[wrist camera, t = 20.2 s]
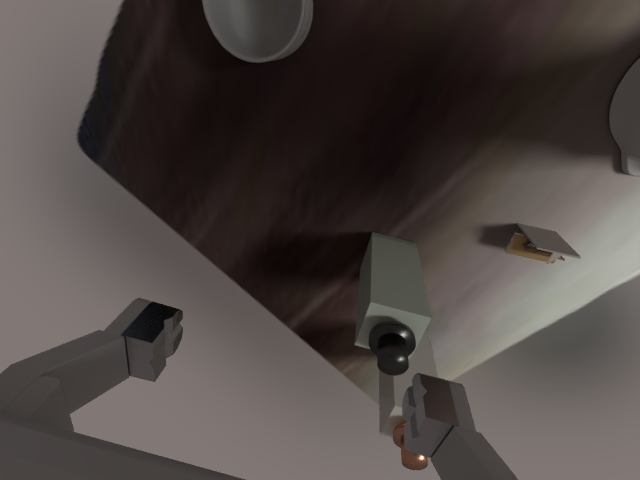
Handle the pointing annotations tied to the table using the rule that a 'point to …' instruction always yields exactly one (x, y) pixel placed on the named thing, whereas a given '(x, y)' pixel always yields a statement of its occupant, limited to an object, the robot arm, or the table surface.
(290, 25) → the teacup
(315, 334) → the table surface
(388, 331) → the black plunger
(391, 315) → the block
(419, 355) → the block
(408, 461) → the terracotta plunger
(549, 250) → the architectural model
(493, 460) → the robot arm
